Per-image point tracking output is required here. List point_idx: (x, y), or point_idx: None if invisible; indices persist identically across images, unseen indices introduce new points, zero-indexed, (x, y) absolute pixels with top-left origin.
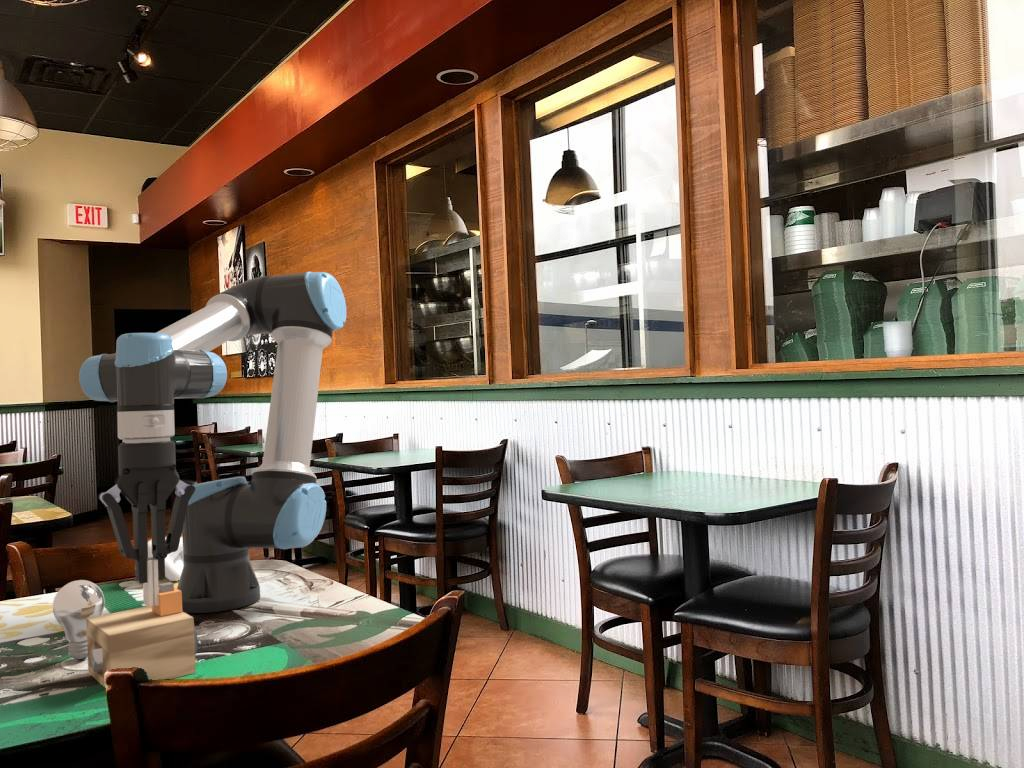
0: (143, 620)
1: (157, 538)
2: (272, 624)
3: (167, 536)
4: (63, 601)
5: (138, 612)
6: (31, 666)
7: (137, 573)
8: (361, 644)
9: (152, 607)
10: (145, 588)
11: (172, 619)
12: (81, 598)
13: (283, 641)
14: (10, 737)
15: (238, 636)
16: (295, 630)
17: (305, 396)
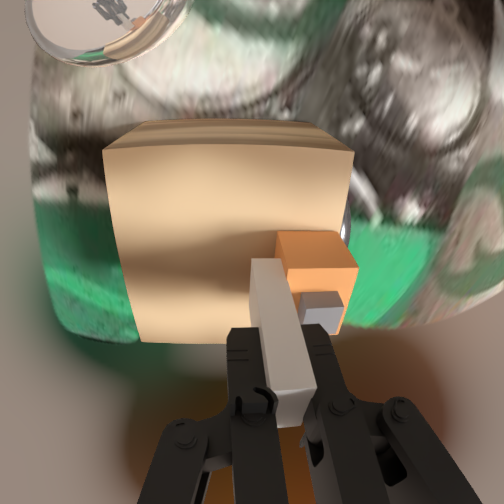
0: (226, 293)
1: (318, 500)
2: (493, 134)
3: (402, 460)
4: (39, 46)
5: (244, 206)
6: None
7: (227, 373)
8: (458, 308)
9: (278, 243)
10: (255, 314)
11: None
12: (84, 59)
13: (447, 230)
14: (56, 311)
15: (439, 141)
16: (485, 196)
17: None
